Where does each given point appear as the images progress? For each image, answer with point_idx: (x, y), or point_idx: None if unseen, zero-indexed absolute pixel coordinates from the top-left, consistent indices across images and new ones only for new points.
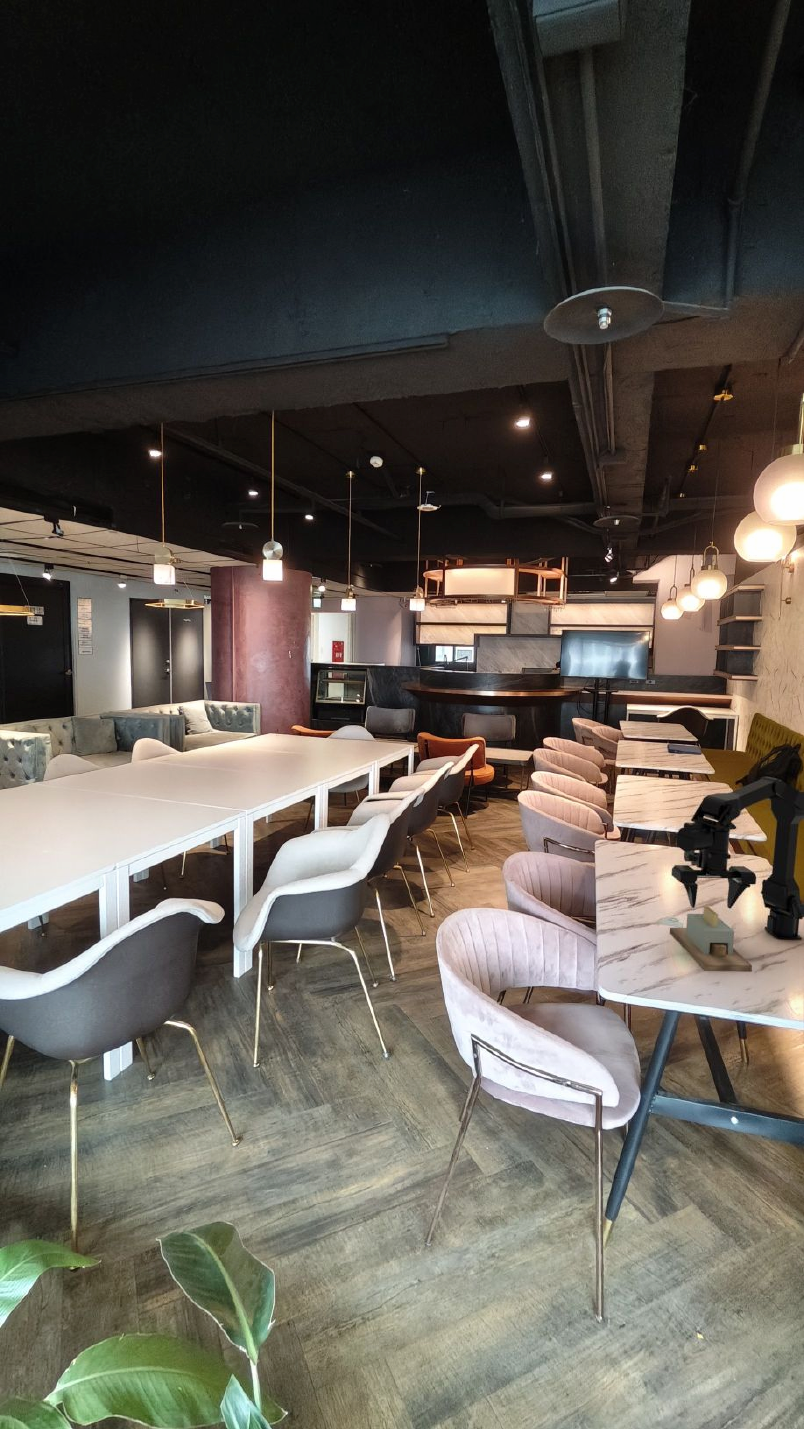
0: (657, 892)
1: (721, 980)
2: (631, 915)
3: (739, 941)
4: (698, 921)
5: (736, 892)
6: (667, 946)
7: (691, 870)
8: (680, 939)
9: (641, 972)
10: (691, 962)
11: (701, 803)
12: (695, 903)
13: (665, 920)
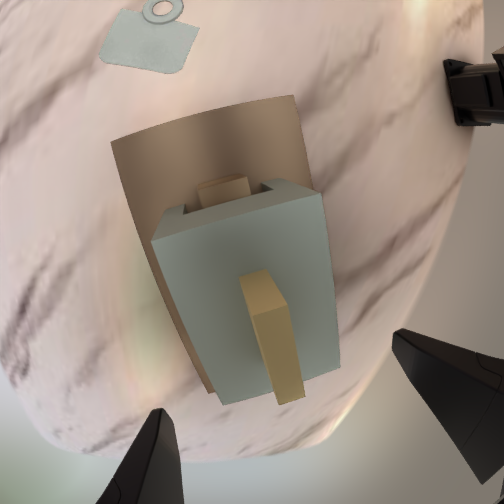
0: None
1: (237, 405)
2: (20, 44)
3: (367, 150)
4: (203, 331)
5: (458, 448)
6: (103, 270)
7: None
8: (142, 241)
9: (72, 410)
10: (173, 352)
11: None
12: (179, 456)
13: (127, 26)
